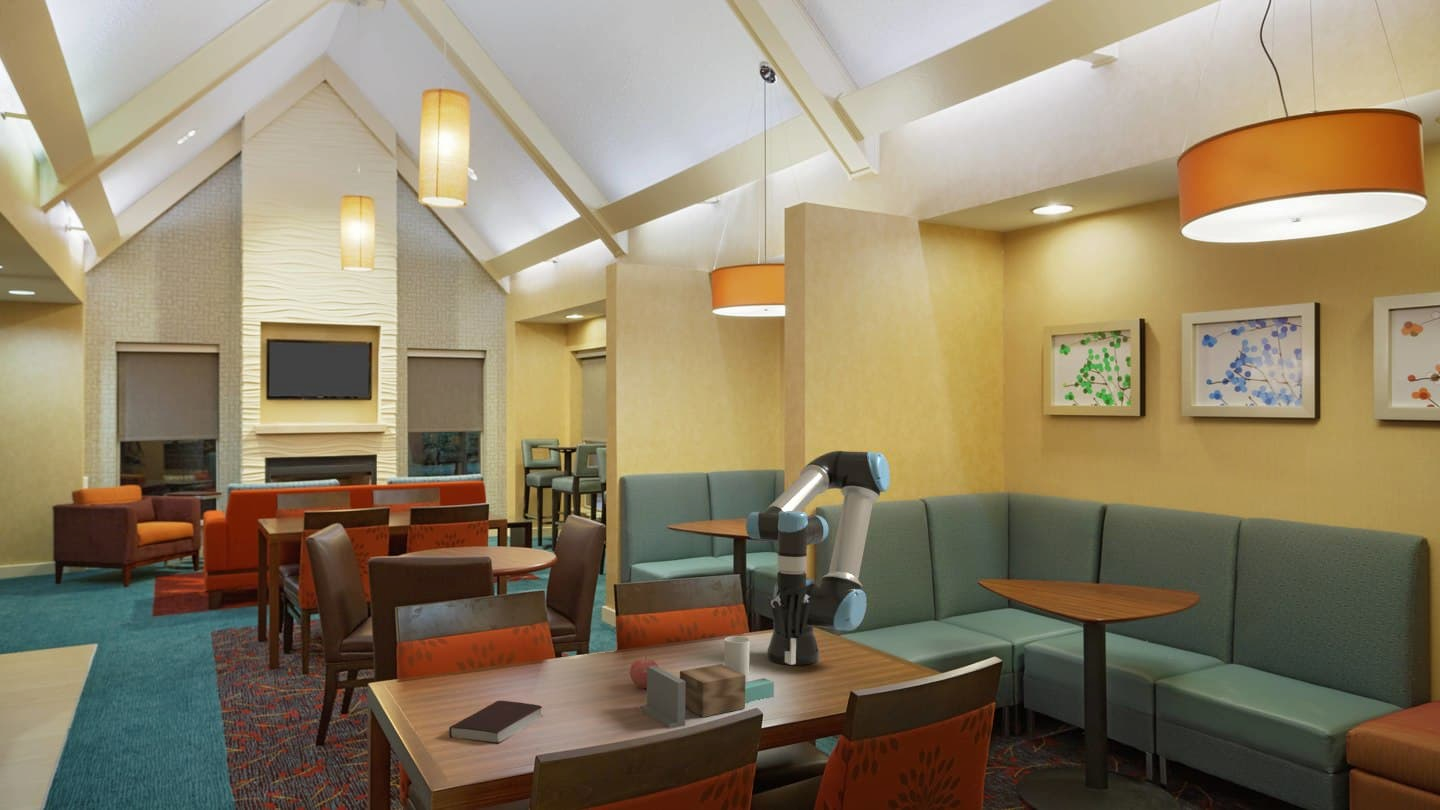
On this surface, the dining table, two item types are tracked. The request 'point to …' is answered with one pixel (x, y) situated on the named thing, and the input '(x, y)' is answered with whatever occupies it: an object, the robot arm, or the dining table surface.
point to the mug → (737, 654)
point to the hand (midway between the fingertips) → (790, 663)
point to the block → (713, 690)
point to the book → (496, 722)
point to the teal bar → (758, 690)
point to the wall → (665, 697)
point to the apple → (641, 671)
